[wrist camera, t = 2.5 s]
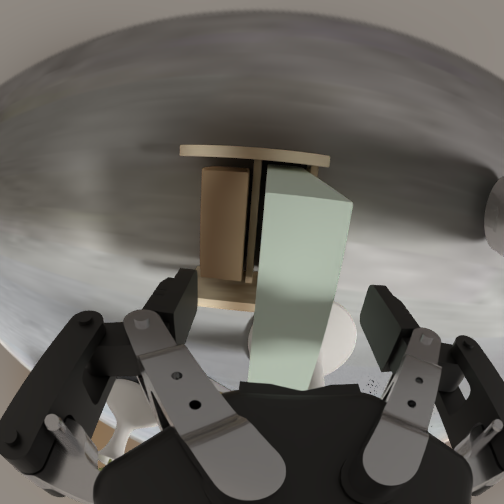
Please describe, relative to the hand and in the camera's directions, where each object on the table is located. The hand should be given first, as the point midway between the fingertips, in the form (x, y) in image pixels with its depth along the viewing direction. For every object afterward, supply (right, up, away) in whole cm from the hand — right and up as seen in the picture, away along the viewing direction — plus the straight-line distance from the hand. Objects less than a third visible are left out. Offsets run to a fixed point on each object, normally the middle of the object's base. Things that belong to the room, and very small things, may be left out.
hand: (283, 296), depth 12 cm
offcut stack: (-4, +5, +14) cm, 15 cm away
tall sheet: (+1, +5, +13) cm, 14 cm away
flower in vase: (-19, -21, +25) cm, 38 cm away
